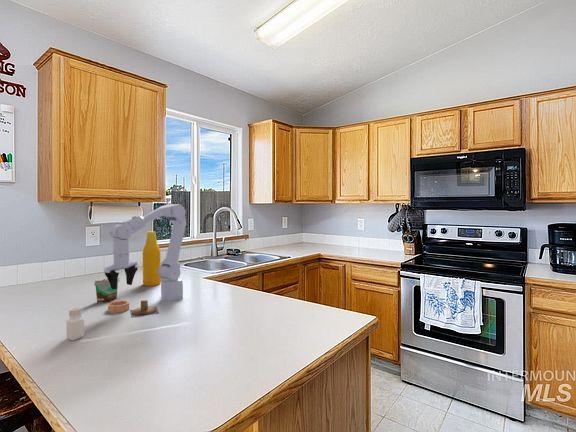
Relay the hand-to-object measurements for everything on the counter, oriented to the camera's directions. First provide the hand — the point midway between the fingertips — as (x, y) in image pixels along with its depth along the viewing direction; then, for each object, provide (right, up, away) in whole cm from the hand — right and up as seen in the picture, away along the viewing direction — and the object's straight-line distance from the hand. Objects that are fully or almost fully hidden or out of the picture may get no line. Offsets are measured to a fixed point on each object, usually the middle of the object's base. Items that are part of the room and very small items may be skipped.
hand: (122, 286), depth 134 cm
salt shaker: (-1, -11, -27) cm, 30 cm away
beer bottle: (-7, -9, +46) cm, 47 cm away
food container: (-13, -10, +16) cm, 23 cm away
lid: (+10, -9, -3) cm, 14 cm away
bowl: (-1, -10, 0) cm, 10 cm away
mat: (+10, -10, -3) cm, 15 cm away
